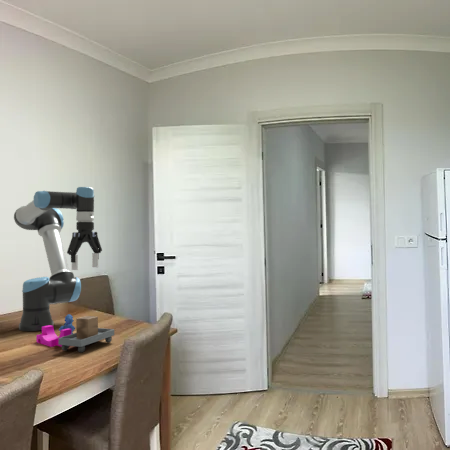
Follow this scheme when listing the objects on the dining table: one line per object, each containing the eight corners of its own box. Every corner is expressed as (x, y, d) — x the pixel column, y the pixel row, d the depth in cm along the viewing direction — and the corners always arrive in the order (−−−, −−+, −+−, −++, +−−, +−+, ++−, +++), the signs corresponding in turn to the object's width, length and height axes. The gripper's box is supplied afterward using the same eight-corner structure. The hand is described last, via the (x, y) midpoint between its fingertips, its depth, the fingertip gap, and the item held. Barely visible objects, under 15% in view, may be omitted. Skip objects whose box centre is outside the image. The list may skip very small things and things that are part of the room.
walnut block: (76, 338, 186) (76, 318, 187) (86, 335, 192) (86, 315, 192) (88, 339, 184) (88, 319, 184) (98, 336, 190) (97, 316, 190)
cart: (58, 351, 180) (58, 338, 180) (93, 339, 200) (93, 327, 200) (81, 353, 176) (81, 340, 176) (114, 341, 196) (114, 329, 196)
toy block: (36, 345, 193) (36, 327, 193) (49, 342, 198) (49, 325, 198) (58, 350, 184) (58, 331, 184) (71, 347, 189) (71, 328, 189)
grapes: (57, 340, 200) (57, 313, 200) (74, 339, 202) (73, 311, 203) (59, 346, 189) (59, 317, 189) (76, 345, 192) (76, 316, 192)
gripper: (72, 221, 194) (72, 271, 194) (109, 221, 217) (109, 266, 217) (58, 221, 197) (58, 270, 197) (96, 221, 220) (96, 265, 220)
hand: (85, 268), depth 207 cm, fingers open, 13 cm apart
